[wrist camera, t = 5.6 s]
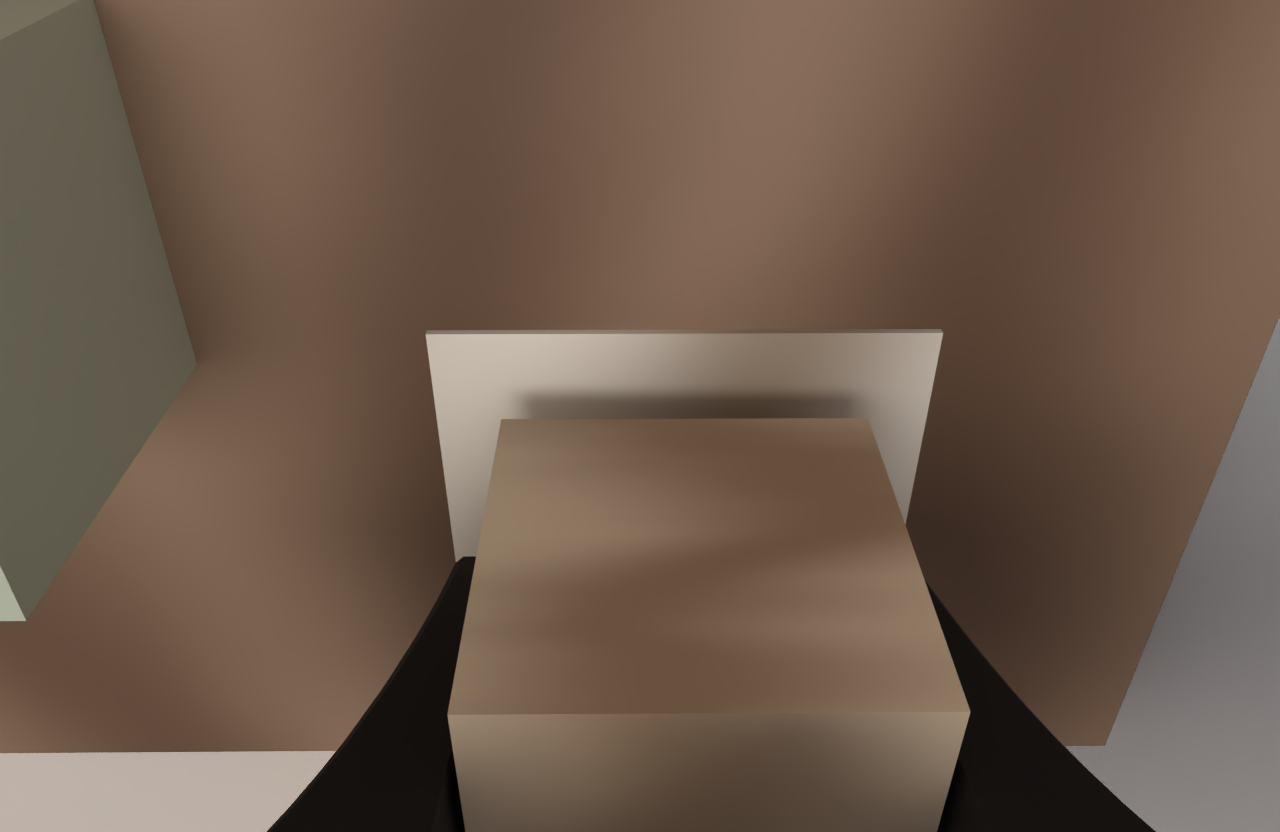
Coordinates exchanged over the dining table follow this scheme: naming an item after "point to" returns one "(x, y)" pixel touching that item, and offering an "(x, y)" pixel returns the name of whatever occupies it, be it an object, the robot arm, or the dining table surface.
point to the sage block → (72, 293)
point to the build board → (661, 314)
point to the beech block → (700, 635)
